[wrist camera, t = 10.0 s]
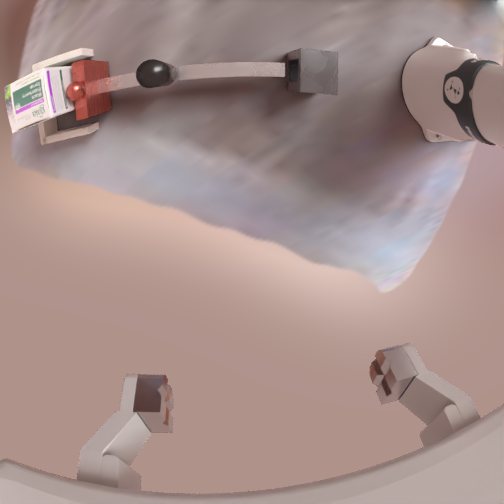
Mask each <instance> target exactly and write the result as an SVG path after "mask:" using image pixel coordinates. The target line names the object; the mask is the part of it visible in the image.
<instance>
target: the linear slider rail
mask: <svg viewBox="0 0 504 504" xmlns="http://www.w3.org/2000/svg"><path fill="white" fill-rule="evenodd" d="M72 74H73V82H72V83H70V84H69V85H68V87H67V89H66V96H67V98H68V99H70V100H73V101H74V100H75V109H76V118H77V120H81V119H86V118H89V117H92V116H95V115H97V114H100V113H103V112H106V111H108V110H111V109H112V108H111V97H110V91H114V90H119V89H124V88H130V87H136V86H143V87H146V88H153V87H161V86H167V85H170V84H171V83H173V82H174V81H180V80H190V79H202V78H218V77H285V63H273V62H231V63H210V64H196V65H185V66H175V67H173V66H172V65H170V64H167V63H164V62H161V61H158V60H147V61H145V62H143V63H142V64H141V65H140V66H139V67H138V69H137V72H134V73H129V74H123V75H118V76H113V77H109V67H108V62H104V61H94V60H81V61H77V62H74V63H72Z"/></svg>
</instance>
